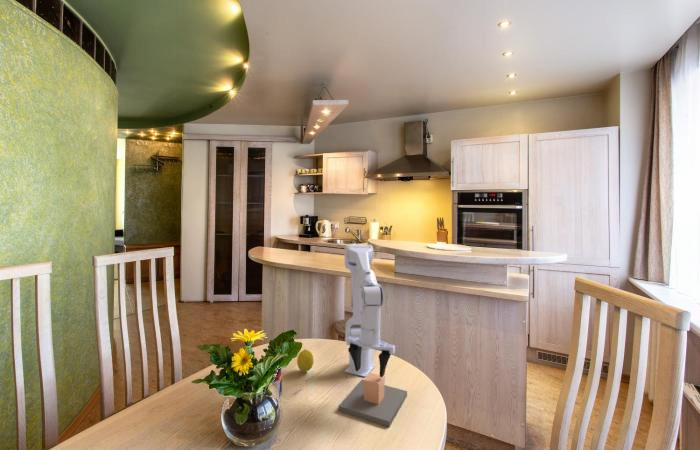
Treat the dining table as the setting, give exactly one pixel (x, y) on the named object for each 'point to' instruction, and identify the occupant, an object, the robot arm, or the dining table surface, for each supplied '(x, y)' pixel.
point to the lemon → (305, 360)
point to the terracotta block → (374, 388)
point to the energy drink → (278, 381)
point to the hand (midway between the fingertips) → (369, 372)
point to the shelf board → (374, 405)
